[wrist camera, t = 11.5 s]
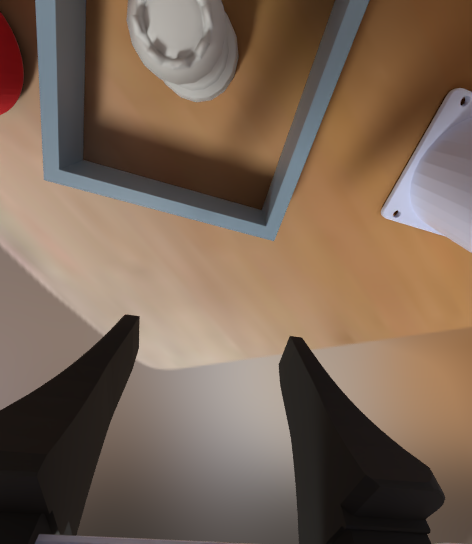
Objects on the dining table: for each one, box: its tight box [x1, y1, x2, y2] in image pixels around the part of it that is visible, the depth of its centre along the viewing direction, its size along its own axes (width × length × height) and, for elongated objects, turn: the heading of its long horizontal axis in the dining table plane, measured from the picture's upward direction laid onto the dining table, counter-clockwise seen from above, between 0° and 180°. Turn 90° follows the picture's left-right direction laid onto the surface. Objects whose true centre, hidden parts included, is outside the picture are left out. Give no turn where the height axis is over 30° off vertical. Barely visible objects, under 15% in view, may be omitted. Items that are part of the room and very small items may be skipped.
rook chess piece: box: [127, 0, 239, 102], centre depth 12 cm, size 4×4×8 cm
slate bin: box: [35, 0, 369, 241], centre depth 15 cm, size 14×14×3 cm
